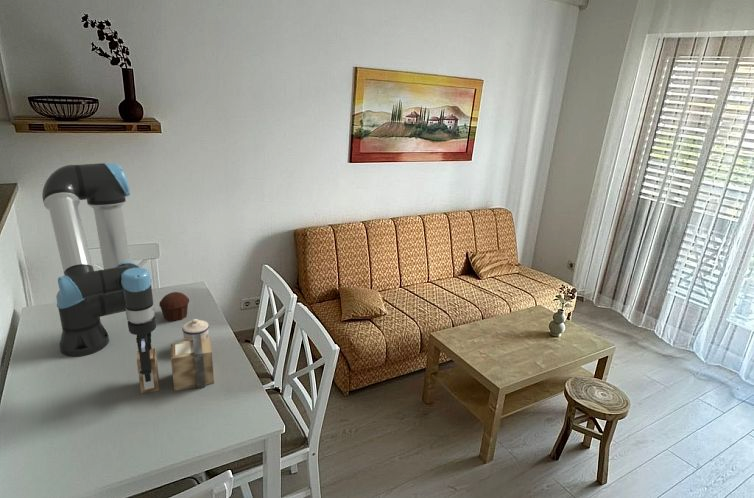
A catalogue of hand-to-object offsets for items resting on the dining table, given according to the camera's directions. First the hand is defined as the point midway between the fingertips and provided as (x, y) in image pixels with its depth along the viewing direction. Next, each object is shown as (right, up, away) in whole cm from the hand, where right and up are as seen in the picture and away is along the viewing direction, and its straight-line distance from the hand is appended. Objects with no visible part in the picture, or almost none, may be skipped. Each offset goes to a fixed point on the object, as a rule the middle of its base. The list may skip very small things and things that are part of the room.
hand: (149, 381), depth 145 cm
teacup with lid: (+6, +6, +24) cm, 26 cm away
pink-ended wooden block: (0, -2, +1) cm, 2 cm away
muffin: (-11, +14, +43) cm, 47 cm away
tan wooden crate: (+12, -1, +6) cm, 13 cm away
